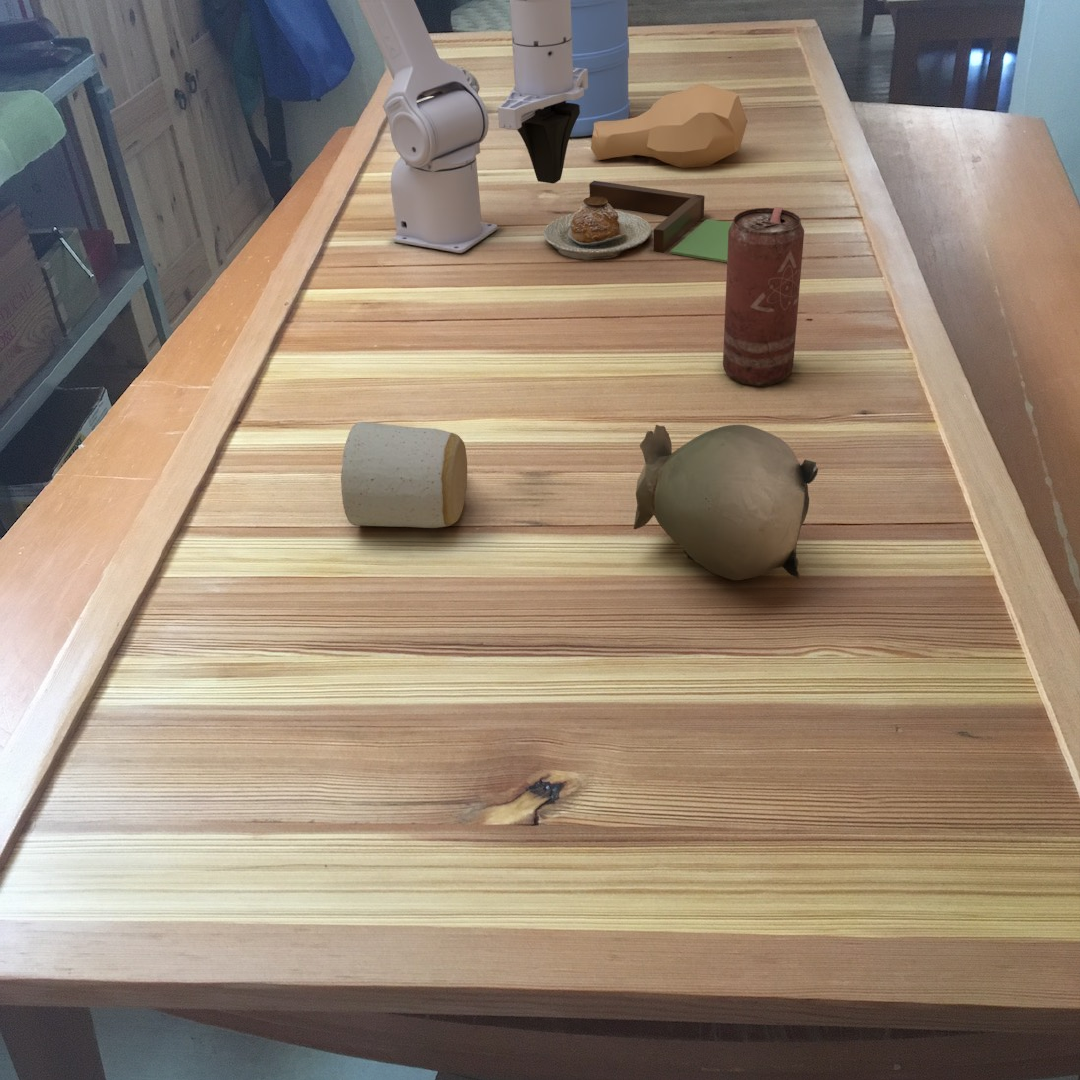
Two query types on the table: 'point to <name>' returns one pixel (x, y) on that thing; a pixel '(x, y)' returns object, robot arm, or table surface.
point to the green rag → (706, 242)
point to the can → (762, 295)
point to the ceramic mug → (403, 476)
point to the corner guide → (655, 208)
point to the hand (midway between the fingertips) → (549, 180)
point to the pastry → (596, 231)
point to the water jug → (601, 61)
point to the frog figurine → (470, 79)
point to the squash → (677, 129)
